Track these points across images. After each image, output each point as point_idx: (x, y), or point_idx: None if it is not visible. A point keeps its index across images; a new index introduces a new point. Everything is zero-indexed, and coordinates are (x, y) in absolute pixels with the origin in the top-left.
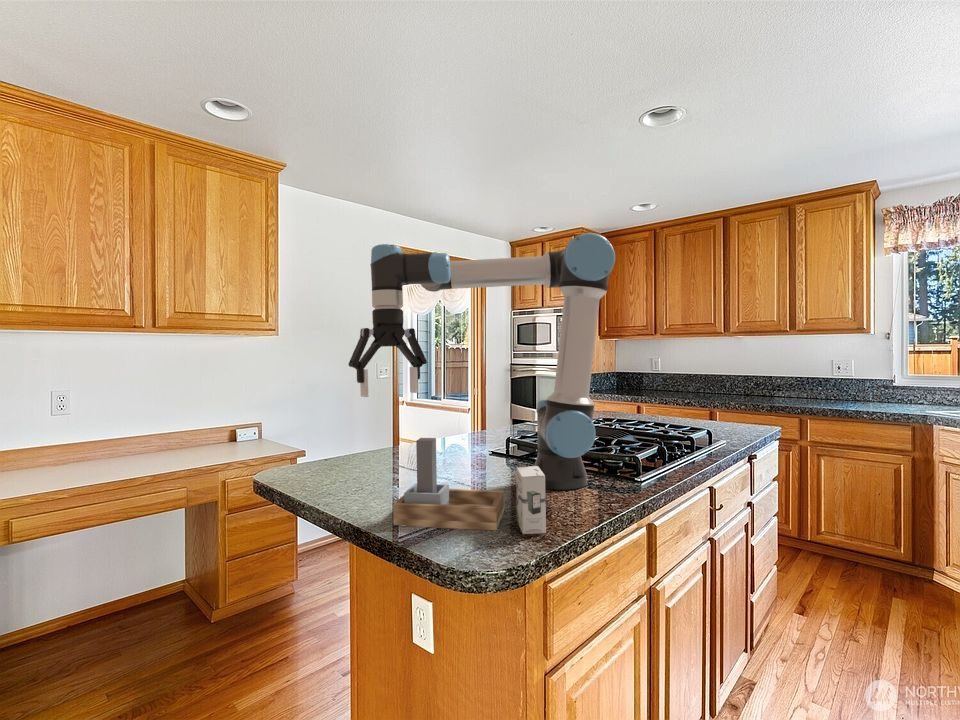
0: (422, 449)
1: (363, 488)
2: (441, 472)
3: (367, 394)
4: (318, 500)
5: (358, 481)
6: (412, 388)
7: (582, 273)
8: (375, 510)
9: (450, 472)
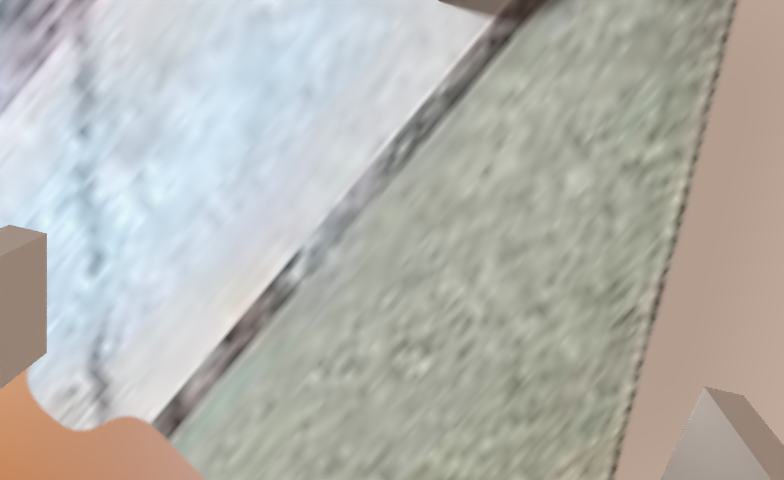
0: None
1: (393, 346)
2: None
3: (728, 408)
4: (593, 355)
5: (346, 429)
6: (8, 325)
7: None
8: (558, 86)
9: None
